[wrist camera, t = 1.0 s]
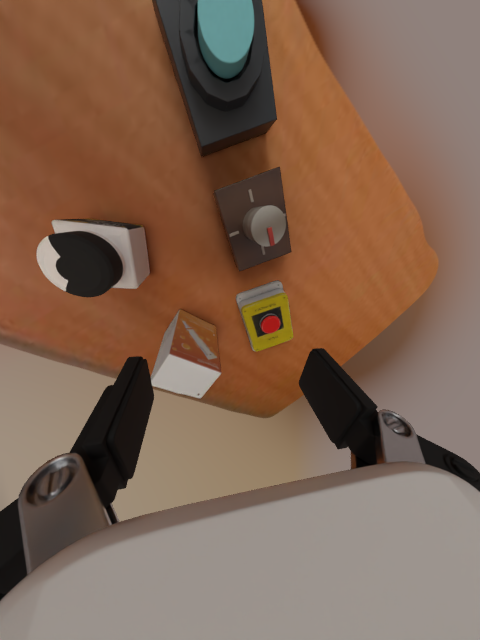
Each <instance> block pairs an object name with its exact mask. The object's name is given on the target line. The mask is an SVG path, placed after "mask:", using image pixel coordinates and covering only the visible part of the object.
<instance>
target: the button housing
mask: <svg viewBox="0 0 480 640" xmlns="http://www.w3.org/2000/svg"><path fill="white" fill-rule="evenodd" d="M152 2H153V6H154V11H155V14H156V17H157V20H158V23H159V27H160V30H161V33H162V36H163V39H164V42H165V45H166V49H167V52H168V55H169V58H170V61H171V64H172V67H173V70H174V74H175V77H176V80H177V83H178V86H179V89H180V92H181V95H182V99H183V102H184V105H185V108H186V111H187V114H188V117H189V120H190V124H191V127H192V130H193V133H194V136H195V139H196V142H197V146H198V149H199V152H200V155H201V157H202V156H205V155H208V154H210V153H213V152H216V151H219V150H221V149H224V148H227V147H229V146H232V145H235V144H238V143H240V142H243V141H246V140H248V139H251V138H254V137H256V136H259V135H262V134H265V133H266V132H267V131H268V130H269V128H270V127H271V126H272V125H273V123H274V122H275V121H276V119H277V116H276V108H275V100H274V92H273V85H272V77H271V69H270V61H269V54H268V46H267V36H266V28H265V21H264V13H263V5H262V0H252V4H253V9H254V33H253V38H252V42H251V45H250V49H249V52H248V56H247V59H246V62H245V65H244V67H243V68H242V70H241V71H240V72H239V73H238V74H237V75H236V76H235V77H233V78H229V79H225V78H221V77H219V76H217V75H216V74H215V73H214V72H213V71H212V70H211V69H210V68H209V67H208V65H207V63H206V62H205V60H204V57H203V55H202V52H201V49H200V45H199V39H198V0H152Z"/></svg>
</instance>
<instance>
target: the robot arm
mask: <svg viewBox="0 0 480 640" xmlns="http://www.w3.org/2000/svg"><path fill="white" fill-rule="evenodd" d="M299 386H300V388H301V390H302V392H303V393H304V395H305V397H306V399H307V400H308V402H309V404H310V406H311V407H312V409H313V411H314V412H315V414H316V416H317V418H318V419H319V421H320V423H321V424H322V426H323V428H324V430H325V432H326V433H327V435H328V437H329V438H330V440H331V441H332V442H333V443H335V445H336V447H337V449H342V448H347V447H349V449H350V450H351V469H350V470H346V471H341V472H336V473H331V474H326V475H322V476H317V477H313V478H307V479H303V480H298V481H293V482H289V483H284V484H279V485H275V486H270V487H265V488H261V489H256V490H251V491H247V492H242V493H238V494H233V495H228V496H224V497H220V498H215V499H210V500H206V501H201V502H197V503H192V504H187V505H183V506H179V507H175V508H171V509H167V510H162V511H158V512H154V513H150V514H146V515H142V516H139V517H135V518H132V519H128V520H125V521H121V522H119V520H118V518H117V515H116V513H115V510H114V508H113V506H112V504H111V503H112V502H113V501H114V499H115V496H116V493H117V490H118V489H124V488H126V485H127V481H128V479H131V478H132V477H133V475H134V472H135V468H136V464H137V461H138V457H139V453H140V449H141V445H142V442H143V438H144V434H145V430H146V426H147V423H148V419H149V415H150V411H151V407H152V404H153V400H154V393H153V388H152V383H151V378H150V374H149V369H148V364H147V360H146V359H143V358H142V357H129V358H128V359H127V360H126V362H125V364H124V366H123V368H122V370H121V372H120V374H119V376H118V378H117V380H116V381H115V383H114V385H110V386H108V387H107V388H106V389H105V390H104V392H103V394H102V396H101V397H100V399H99V401H98V403H97V405H96V406H95V408H94V410H93V412H92V414H91V415H90V417H89V419H88V421H87V423H86V424H85V426H84V428H83V430H82V431H81V433H80V435H79V437H78V439H77V440H76V442H75V444H74V446H73V447H72V449H71V451H70V453H65V454H62V455H59V456H57V457H55V458H53V459H51V460H49V461H47V462H46V463H45V464H43V465H42V466H41V467H39V468H38V469H37V470H36V471H35V472H34V473H33V474H32V475H31V476H30V477H29V479H28V480H27V482H26V483H25V484H24V486H23V488H22V490H21V492H20V494H19V498H18V499H16V500H15V501H14V502H12V503H11V504H10V505H8V506H7V507H6V508H4V509H3V510H2V511H0V640H480V473H479V472H478V471H477V470H476V469H475V468H474V467H473V466H472V465H471V464H470V463H468V462H467V461H466V460H464V459H463V458H461V457H459V456H458V455H456V454H454V453H452V452H450V451H448V450H446V449H444V448H442V447H440V446H438V445H436V444H434V443H432V442H430V441H428V440H426V439H424V438H422V437H420V436H418V435H416V433H415V431H414V429H413V427H412V426H411V425H410V423H409V422H407V421H406V420H405V419H404V418H403V417H401V416H400V415H399V414H397V413H395V412H393V411H389V410H380V411H379V412H377V411H376V408H377V406H376V404H374V402H373V401H372V400H371V399H370V398H369V397H368V396H367V395H366V394H365V393H364V392H363V390H362V389H361V388H360V387H359V386H358V385H357V384H356V383H355V382H354V381H353V380H352V379H351V378H350V376H349V375H348V374H347V373H346V372H345V371H344V370H343V369H342V368H341V367H340V366H339V364H338V363H337V362H336V361H335V360H334V359H333V358H332V357H331V356H330V355H329V354H328V353H327V352H326V350H324V349H323V348H320V349H313V350H312V351H311V352H310V353H309V356H308V359H307V361H306V364H305V367H304V369H303V372H302V375H301V377H300V380H299Z"/></svg>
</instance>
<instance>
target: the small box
mask: <svg viewBox="0 0 480 640" xmlns="http://www.w3.org/2000/svg"><path fill="white" fill-rule="evenodd" d="M220 374H221V365H220V357H219V349H218V340H217V332H216V326H214V325H212V324H210V323H208V322H205V321H203V320H201V319H199V318H197V317H195V316H193V315H191V314H189V313H187V312H185V311H183V310H181V309H179V311H178V312H177V314H176V316H175V317H174V319H173V321H172V322H171V324H170V325H169V327H168V329H167V330H166V332H165V334H164V337H163V340H162V343H161V347H160V350H159V353H158V356H157V360H156V363H155V366H154V369H153V372H152V375H151V383H152V386H155V387H159V388H162V389H166V390H169V391H172V392H175V393H179V394H184V395H188V396H192V397H196V398H201V397H202V396H203V395H204V394H205V392H206V391H207V390H208V389H209V388H210V386H211V385H212V384H213V383H214V382H215V380H216V379H217V378H218V377H219V375H220Z"/></svg>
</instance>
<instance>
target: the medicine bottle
mask: <svg viewBox="0 0 480 640" xmlns="http://www.w3.org/2000/svg"><path fill="white" fill-rule="evenodd" d="M52 225H53V228H54V231H55V234H52V235H49V236H47V237H45V238H44V239H43V240H42V241H41V242H40V243H39V245H38V248H37V261H38V264H39V267H40V268H41V270H42V272H43V273H44V275H45V276H46V277H47V278H48V279H49V280H50V281H51V282H52V283H53V284H54V285H56V286H57V287H59V288H60V289H62V290H64V291H66V292H68V293H70V294H73V295H77V296H81V297H95V296H99V295H102V294H104V293H105V292H107V291H108V290H109V289H110V288H129V289H136V288H138V287H139V285H140V284H141V283H142V282H143V281H144V280H145V279H146V277H147V276H148V275H149V274H150V269H149V261H148V253H147V245H146V237H145V230H144V226H142V225H137V224H129V223H121V222H112V221H104V220H96V219H63V220H53V221H52Z"/></svg>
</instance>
